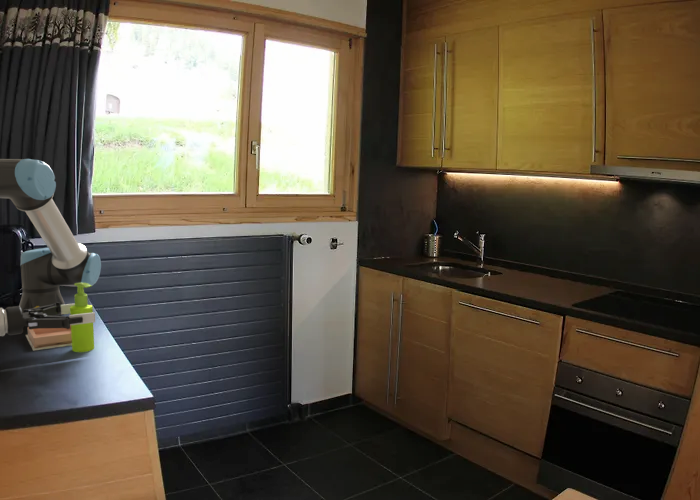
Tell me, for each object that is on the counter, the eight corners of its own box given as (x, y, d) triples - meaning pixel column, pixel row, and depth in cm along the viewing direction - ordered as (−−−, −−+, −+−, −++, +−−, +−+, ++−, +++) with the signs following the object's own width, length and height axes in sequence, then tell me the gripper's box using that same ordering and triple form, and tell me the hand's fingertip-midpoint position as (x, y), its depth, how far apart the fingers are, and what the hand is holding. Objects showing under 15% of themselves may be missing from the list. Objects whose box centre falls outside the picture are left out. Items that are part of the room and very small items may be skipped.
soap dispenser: (82, 356, 175) (79, 286, 172) (67, 351, 179) (64, 283, 176) (101, 350, 180) (98, 282, 177) (86, 346, 184) (83, 280, 181)
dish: (28, 336, 191) (27, 326, 190) (77, 330, 199) (76, 320, 198) (34, 348, 179) (33, 338, 179) (86, 341, 187) (85, 331, 187)
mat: (25, 336, 192) (25, 335, 192) (77, 330, 201) (77, 328, 201) (33, 352, 178) (33, 350, 178) (89, 344, 186) (89, 342, 186)
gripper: (2, 324, 178) (81, 315, 190) (11, 347, 157) (99, 335, 169) (0, 298, 177) (80, 291, 188) (9, 318, 156) (98, 308, 168)
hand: (89, 311), depth 179 cm, fingers open, 13 cm apart
